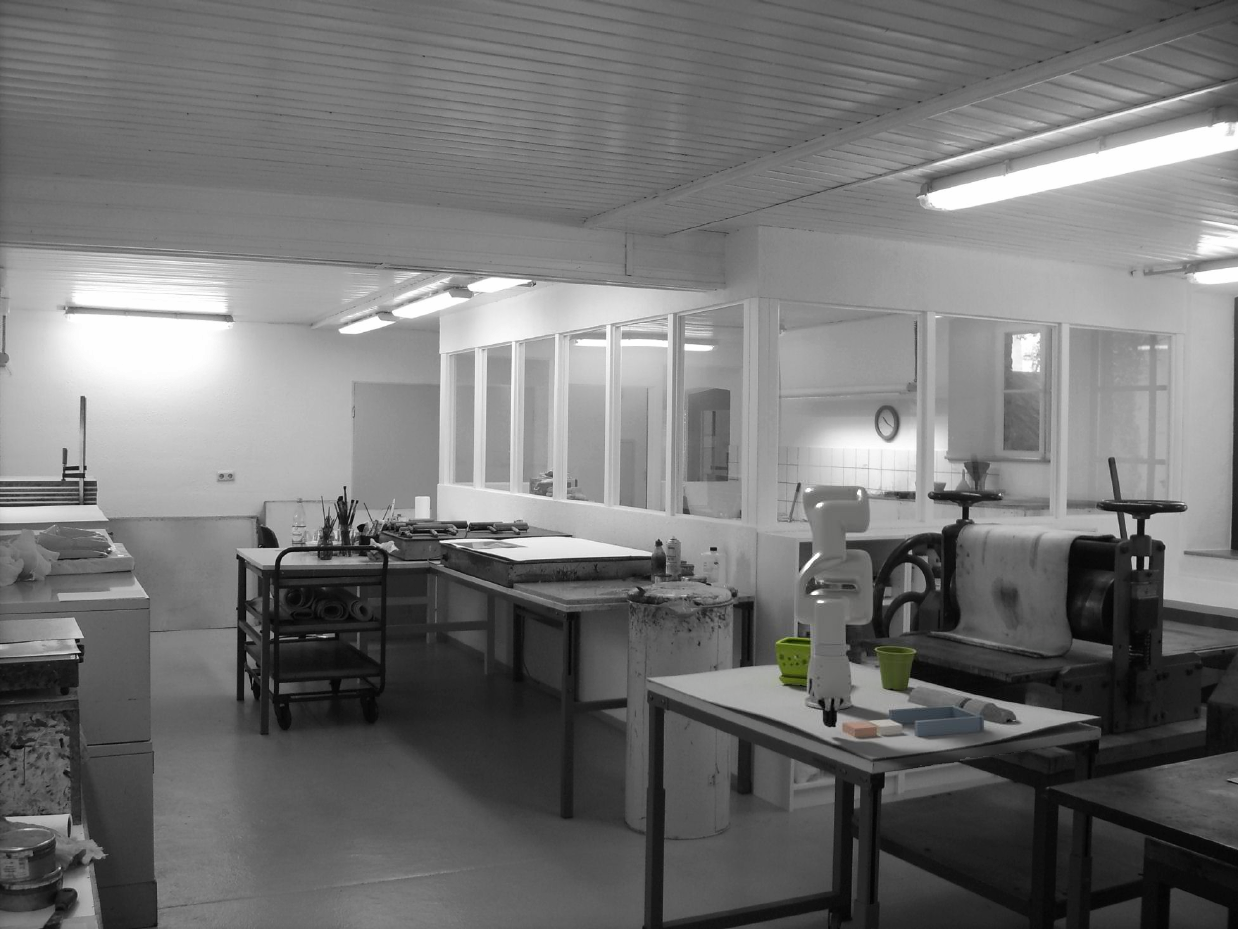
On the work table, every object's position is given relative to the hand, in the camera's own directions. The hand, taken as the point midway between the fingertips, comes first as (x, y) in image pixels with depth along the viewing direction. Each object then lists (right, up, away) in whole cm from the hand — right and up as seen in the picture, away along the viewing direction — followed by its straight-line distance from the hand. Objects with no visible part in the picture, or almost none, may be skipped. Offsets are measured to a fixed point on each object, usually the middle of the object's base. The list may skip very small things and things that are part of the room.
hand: (829, 726), depth 258 cm
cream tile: (+15, -3, +5) cm, 16 cm away
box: (+28, -3, +9) cm, 29 cm away
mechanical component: (+41, -3, +27) cm, 49 cm away
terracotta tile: (+8, -3, +3) cm, 9 cm away
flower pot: (+4, -3, +62) cm, 62 cm away
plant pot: (+30, -3, +55) cm, 63 cm away
